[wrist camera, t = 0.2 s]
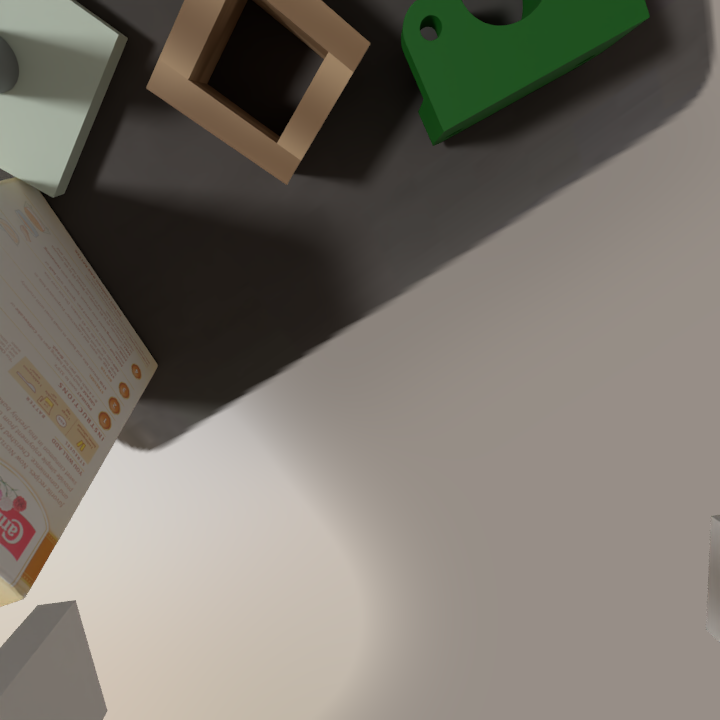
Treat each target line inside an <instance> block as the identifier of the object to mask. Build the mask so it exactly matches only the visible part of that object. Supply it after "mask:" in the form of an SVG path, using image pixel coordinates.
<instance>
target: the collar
mask: <svg viewBox="0 0 720 720" xmlns="http://www.w3.org/2000/svg"><path fill="white" fill-rule="evenodd" d="M247 1H248V0H184V3H183V5H182V7H181V9H180V12H179V14H178V16H177V19H176V21H175V23H174V25H173V28H172V30H171V32H170V35H169V37H168V39H167V41H166V44H165V46H164V48H163V50H162V53H161V55H160V57H159V60H158V62H157V64H156V66H155V69H154V71H153V73H152V75H151V78H150V80H149V82H148V85H147V87H146V89H148V90H149V91H151V92H152V93H154V94H155V95H157V96H158V97H160V98H161V99H162V100H164V101H165V102H167V103H168V104H170V105H171V106H173V107H174V108H176V109H177V110H178V111H180V112H181V113H183V114H184V115H186V116H187V117H189V118H190V119H192V120H193V121H194V122H196V123H197V124H199V125H200V126H202V127H203V128H205V129H206V130H208V131H209V132H210V133H212V134H213V135H215V136H216V137H218V138H219V139H221V140H222V141H224V142H225V143H226V144H228V145H229V146H231V147H232V148H234V149H235V150H237V151H238V152H240V153H241V154H243V155H244V156H245V157H247V158H248V159H250V160H251V161H253V162H254V163H256V164H257V165H259V166H260V167H261V168H263V169H264V170H266V171H267V172H269V173H270V174H272V175H273V176H275V177H276V178H277V179H279V180H280V181H282V182H283V183H285V184H286V185H287V184H288V182H289V180H290V179H291V177H292V175H293V173H294V172H295V170H296V168H297V167H298V165H299V163H300V162H301V160H302V158H303V157H304V155H305V153H306V152H307V150H308V148H309V147H310V145H311V143H312V141H313V140H314V138H315V136H316V135H317V133H318V131H319V130H320V128H321V126H322V125H323V123H324V121H325V120H326V118H327V116H328V115H329V113H330V111H331V109H332V108H333V106H334V104H335V103H336V101H337V99H338V98H339V96H340V94H341V93H342V91H343V89H344V88H345V86H346V84H347V83H348V81H349V79H350V77H351V76H352V74H353V72H354V71H355V69H356V67H357V66H358V64H359V62H360V61H361V59H362V57H363V56H364V54H365V52H366V51H367V49H368V47H369V45H370V44H371V43H370V42H369V41H367V40H366V39H365V38H364V37H363V36H362V35H360V34H359V33H358V32H357V31H356V30H355V29H354V28H352V27H351V26H350V25H349V24H348V23H347V22H346V21H344V20H343V19H342V18H341V17H340V16H339V15H338V14H336V13H335V12H334V11H333V10H332V9H331V8H329V7H328V6H327V5H326V4H325V3H324V2H323V1H321V0H252V1H253V2H255V3H256V4H257V5H258V6H260V7H261V8H262V9H263V10H264V11H266V12H267V13H268V14H269V15H271V16H272V17H273V18H274V19H275V20H277V21H278V22H279V23H280V24H282V25H283V26H284V27H285V28H286V29H288V30H289V31H290V32H291V33H292V34H294V35H295V36H296V37H297V38H299V39H300V40H301V41H302V42H303V43H305V44H306V45H307V46H308V47H310V48H311V49H312V50H313V51H314V52H316V53H317V54H318V55H319V56H321V57H322V58H323V59H324V61H323V63H322V64H321V66H320V68H319V70H318V71H317V73H316V75H315V77H314V79H313V80H312V82H311V84H310V86H309V87H308V89H307V91H306V93H305V94H304V96H303V98H302V100H301V102H300V103H299V105H298V107H297V109H296V110H295V112H294V114H293V116H292V117H291V119H290V121H289V123H288V124H287V126H286V128H285V130H284V132H283V133H282V135H281V137H280V136H278V135H277V134H276V133H274V132H273V131H272V130H270V129H269V128H267V127H266V126H265V125H263V124H262V123H261V122H259V121H258V120H256V119H255V118H254V117H252V116H251V115H249V114H248V113H247V112H245V111H244V110H243V109H241V108H240V107H238V106H237V105H236V104H234V103H233V102H232V101H230V100H229V99H227V98H226V97H225V96H223V95H222V94H220V93H219V92H218V91H216V90H215V89H214V88H212V87H211V86H209V85H208V84H207V83H208V81H209V79H210V77H211V75H212V73H213V71H214V69H215V67H216V65H217V63H218V61H219V59H220V57H221V54H222V52H223V50H224V48H225V46H226V44H227V42H228V40H229V38H230V36H231V34H232V32H233V30H234V28H235V26H236V24H237V21H238V19H239V17H240V15H241V13H242V11H243V9H244V7H245V5H246V3H247Z"/></svg>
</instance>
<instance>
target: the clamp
mask: <svg viewBox="0 0 720 720" xmlns="http://www.w3.org/2000/svg"><path fill="white" fill-rule="evenodd" d="M649 17H650V16H649V12H648V9H647V6H646V2H645V0H523V14H522V19H521V20H520V21H518V22H516V23H513V24H510V25H503V26H496V25H490V24H487V23H484V22H482V21H480V20H478V19H477V18H476V17H474V16H473V15H472V14H471V13H470V12H469V11H468V10H467V9H466V7H465V6H464V4H463V2H462V1H461V0H417V1H415V2H414V3H413V4H412V5H411V7H410V8H409V9H408V11H407V13H406V16H405V18H404V23H403V28H402V34H401V45H402V50H403V52H404V55H405V57H406V59H407V62H408V64H409V66H410V69H411V71H412V73H413V76H414V78H415V80H416V82H417V85H418V87H419V89H420V92H421V94H422V96H423V99H424V100H423V102H422V105H421V107H420V109H419V111H418V113H419V115H420V117H421V119H422V122H423V124H424V126H425V129H426V131H427V133H428V135H429V138H430V140H431V142H432V145H433V146H434V145H436V144H439V143H441V142H443V141H445V140H447V139H448V138H450V137H452V136H454V135H456V134H457V133H459V132H461V131H463V130H465V129H466V128H468V127H470V126H472V125H474V124H476V123H477V122H479V121H481V120H483V119H485V118H486V117H488V116H490V115H492V114H494V113H495V112H497V111H499V110H501V109H503V108H504V107H506V106H508V105H510V104H512V103H513V102H515V101H517V100H519V99H521V98H523V97H524V96H526V95H528V94H530V93H532V92H533V91H535V90H537V89H539V88H541V87H542V86H544V85H546V84H548V83H550V82H551V81H553V80H555V79H557V78H559V77H561V76H562V75H564V74H566V73H568V72H570V71H571V70H573V69H575V68H577V67H579V66H580V65H582V64H584V63H585V62H587V61H589V60H590V59H592V58H594V57H595V56H597V55H599V54H600V53H602V52H603V51H605V50H606V49H607V48H609V47H610V46H612V45H613V44H614V43H616V42H617V41H618V40H620V39H621V38H622V37H624V36H625V35H626V34H628V33H629V32H630V31H632V30H633V29H634V28H636V27H637V26H639V25H640V24H641V23H643V22H644V21H645V20H647V19H648V18H649ZM424 27H432V28H434V29H435V31H436V33H437V36H438V38H437V39H435V40H433V41H428V40H425V39H424V38H423V37H422V35H421V33H420V30H421V29H422V28H424Z"/></svg>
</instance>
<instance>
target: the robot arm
mask: <svg viewBox="0 0 720 720" xmlns="http://www.w3.org/2000/svg"><path fill="white" fill-rule="evenodd" d="M706 630H707V631H708V632H709V633H710V634H711V635H712V636H713V637H714V638H715V639H716V640H717V641H718V642H720V515H716V516H711V530H710V553H709V577H708V599H707V622H706ZM106 712H107V708H106V705H105V701H104V698H103V694H102V691H101V688H100V684H99V681H98V677H97V674H96V670H95V666H94V663H93V659H92V656H91V653H90V650H89V646H88V642H87V639H86V635H85V632H84V628H83V625H82V621H81V618H80V614H79V611H78V607H77V604H76V601H67V602H60V603H52V604H44V605H38V606H37V607H36V608H35V609H34V610H33V612H32V613H31V614H30V615H29V616H28V617H27V618H26V619H25V620H24V622H23V623H22V624H21V625H20V626H19V627H18V628H17V629H16V631H15V632H14V633H13V634H12V635H11V636H10V637H9V639H8V640H7V641H6V642H5V643H4V644H3V645H2V647H1V648H0V720H103V718H104V716H105V714H106Z"/></svg>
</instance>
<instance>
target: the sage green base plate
mask: <svg viewBox="0 0 720 720" xmlns="http://www.w3.org/2000/svg"><path fill="white" fill-rule="evenodd" d="M127 40H128V38H127V37H126V36H124V35H123V34H122V33H120V32H119V31H117V30H116V29H115V28H113V27H112V26H110V25H109V24H108V23H106V22H105V21H103V20H102V19H101V18H99V17H98V16H96V15H95V14H94V13H92V12H91V11H89V10H88V9H87V8H85V7H84V6H82V5H81V4H80V3H78V2H77V1H76V0H0V168H1V169H3V170H5V171H6V172H8V173H10V174H12V175H13V176H15V177H17V178H19V179H20V180H22V181H24V182H26V183H28V184H29V185H31V186H33V187H35V188H36V189H38V190H40V191H42V192H44V193H45V194H47V195H49V196H51V197H52V198H54V197H57V196H60V195H62V194H65V191H66V189H67V186H68V184H69V181H70V179H71V177H72V174H73V172H74V169H75V167H76V164H77V162H78V159H79V157H80V155H81V152H82V150H83V147H84V145H85V142H86V140H87V137H88V135H89V133H90V130H91V128H92V125H93V123H94V120H95V118H96V115H97V113H98V111H99V108H100V106H101V103H102V101H103V98H104V96H105V94H106V91H107V89H108V86H109V84H110V81H111V79H112V76H113V74H114V72H115V69H116V67H117V64H118V62H119V59H120V57H121V54H122V52H123V50H124V47H125V45H126V42H127Z"/></svg>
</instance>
